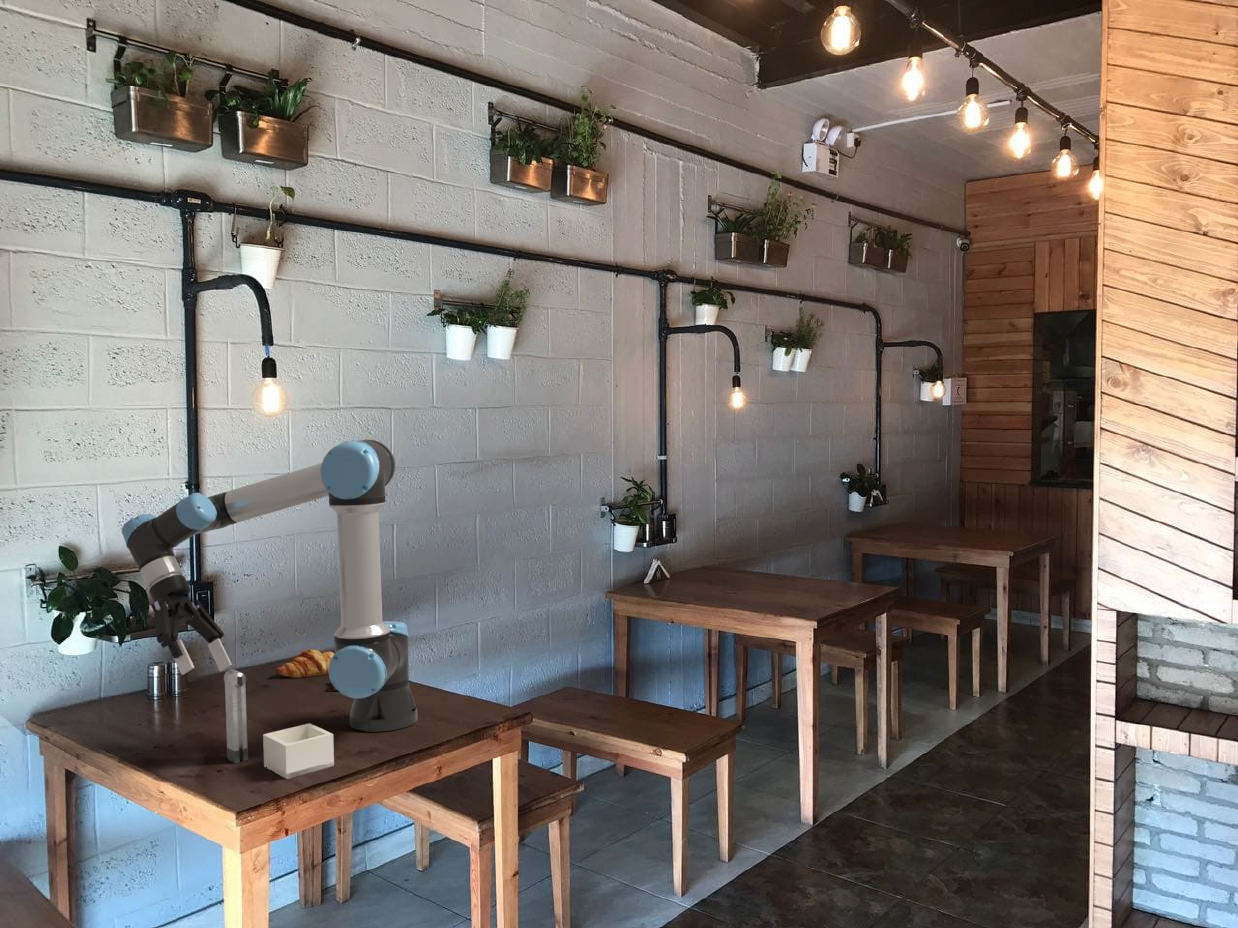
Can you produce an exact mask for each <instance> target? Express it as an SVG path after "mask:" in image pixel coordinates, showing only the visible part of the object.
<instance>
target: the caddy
mask: <svg viewBox="0 0 1238 928" xmlns="http://www.w3.org/2000/svg"><path fill="white" fill-rule="evenodd" d="M262 737H263V738H262V740H263V741H262V743H263V745H262V746H263V767H264V768H266V767H267V768H266V769H267V770H269V771H271V770H272V771H271V772H273V771H274V773H275V774H277V775H279V776H280V777H282V778H284V779H285V780H288V779H289V780H290V779H293V778H296V777H300V776H302V775H307V774H311V773H314V772H318V771H321V770H326V769H328V768H331V767H332V768H333V767H335V755H334V754H335V751H334V750H335V749H334V734H333V733H331V732H329V731H327V730H325V729H323V728H321V727H319V726H317V725H314V724H312V723H310V722H309V723H305V724H301V725H297V726H293V727H288V728H283V729H281V730H276V731H272V732H271V731H270V732H267V733H264V734H262Z"/></svg>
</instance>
